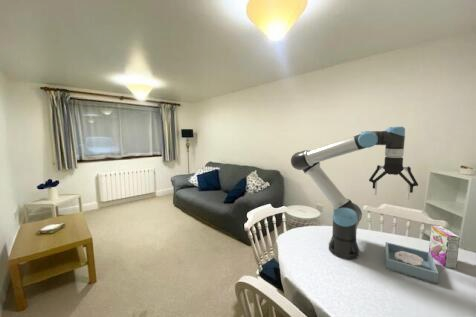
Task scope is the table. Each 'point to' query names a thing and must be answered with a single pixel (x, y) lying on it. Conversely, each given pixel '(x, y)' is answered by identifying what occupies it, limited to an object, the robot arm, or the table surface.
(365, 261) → the table surface
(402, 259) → the fossil
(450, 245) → the candy bar box
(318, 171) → the robot arm
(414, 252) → the bin
